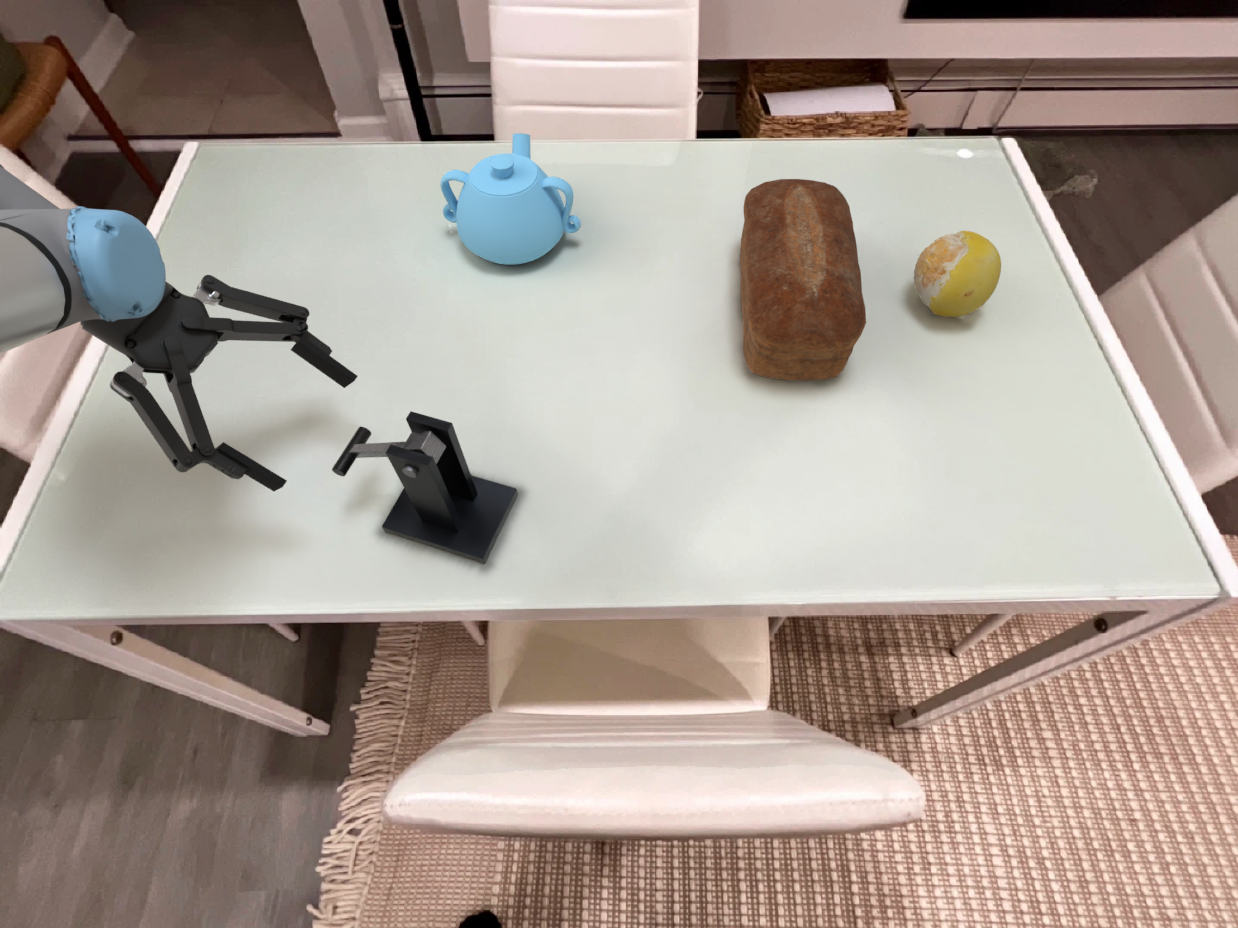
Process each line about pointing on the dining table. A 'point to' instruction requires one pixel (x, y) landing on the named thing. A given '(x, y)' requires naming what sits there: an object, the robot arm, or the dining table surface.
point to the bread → (799, 281)
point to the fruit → (957, 273)
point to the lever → (359, 448)
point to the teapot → (509, 207)
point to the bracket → (446, 497)
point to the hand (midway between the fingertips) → (317, 432)
